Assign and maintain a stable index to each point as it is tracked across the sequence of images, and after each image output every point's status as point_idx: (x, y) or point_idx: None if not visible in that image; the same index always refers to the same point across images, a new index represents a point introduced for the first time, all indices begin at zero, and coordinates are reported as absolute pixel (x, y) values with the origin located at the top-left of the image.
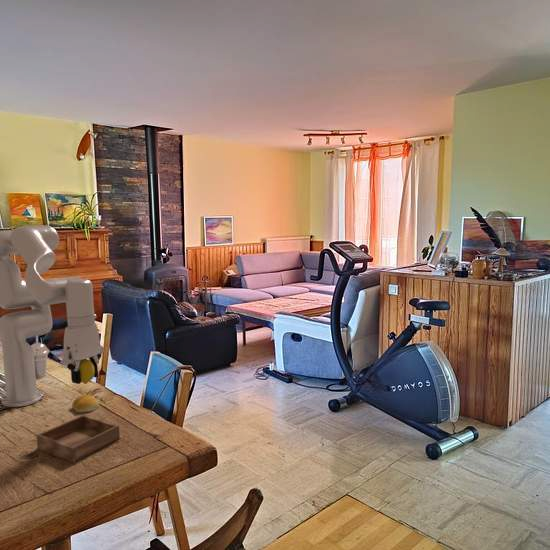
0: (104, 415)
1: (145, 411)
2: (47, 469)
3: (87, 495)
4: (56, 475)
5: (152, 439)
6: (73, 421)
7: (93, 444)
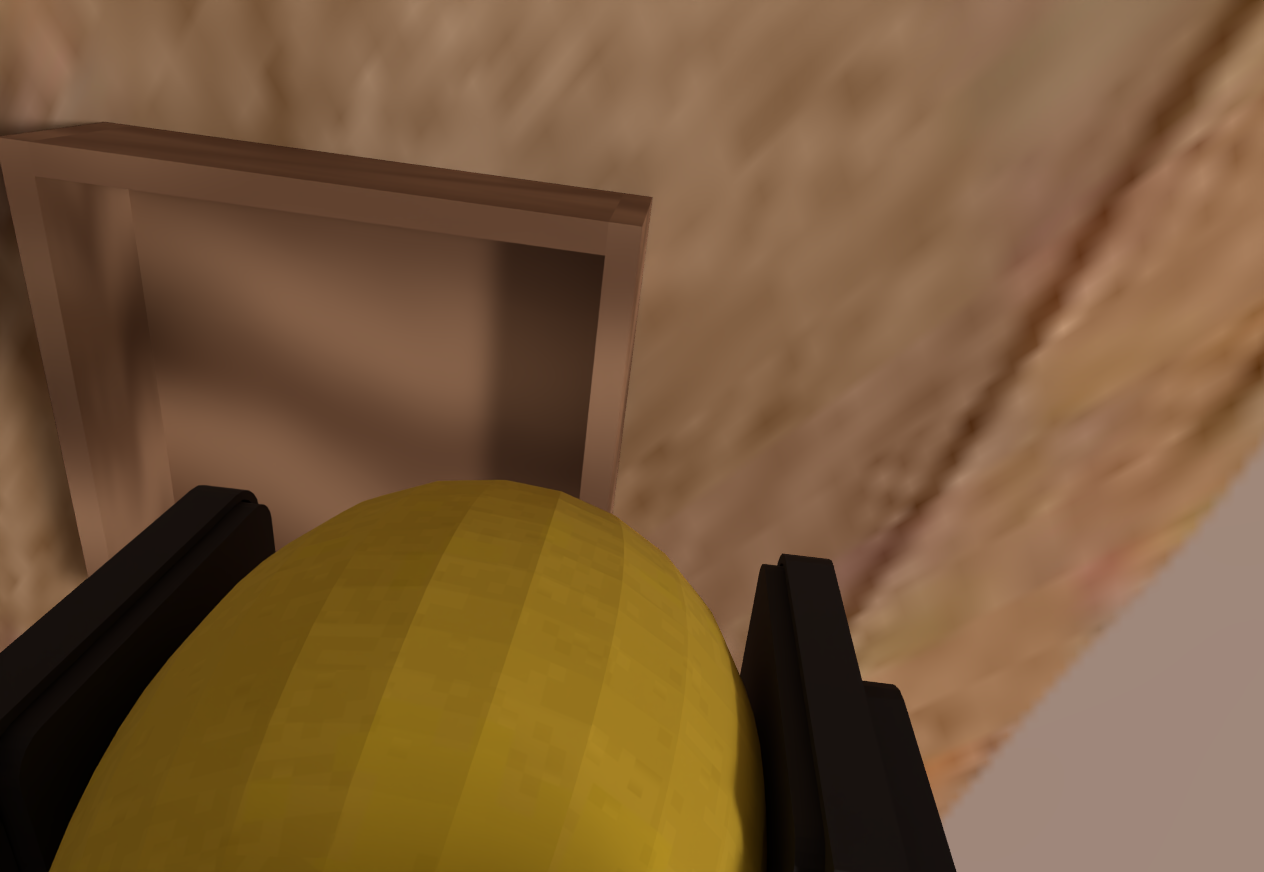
0: (992, 183)
1: (1181, 527)
2: (12, 476)
3: None
4: (21, 580)
5: None
6: (467, 233)
7: None
